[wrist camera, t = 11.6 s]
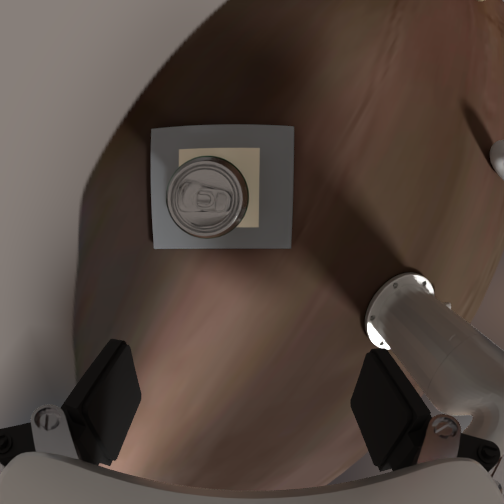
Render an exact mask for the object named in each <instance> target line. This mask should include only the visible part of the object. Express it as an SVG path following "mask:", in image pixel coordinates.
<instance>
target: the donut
mask: <svg viewBox="0 0 504 504" xmlns="http://www.w3.org/2000/svg"><path fill="white" fill-rule="evenodd" d="M490 161H491V164H492V166H493V168H494V170H495V171H496V173H497V174H498V175H499V176H500V177H501V178H502V179H503V180H504V140H500V141H497V142H495V143H494V144H493V145H492V147H491V150H490Z"/></svg>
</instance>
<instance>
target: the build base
mask: <svg viewBox="0 0 504 504" xmlns="http://www.w3.org/2000/svg"><path fill="white" fill-rule="evenodd" d="M200 156H216V157H220V158H223V159H225V160H227V161H229V162H231V163H232V164H233V165H235V166H236V167H237V168H238V169H239V171H240V172H241V173H242V175H243V176H244V178H245V180H246V183H247V186H248V190H249V204H248V208H247V211H246V214H245V216H244V218H243V219H242V221H241V222H240V223H239V225H238V226H237V227H236V228H235V229H233V230H232V231H231V232H229V233H227V234H226V235H223V236H221V237H217V238H211V239H203V238H197V237H194V236H191V235H189V234H187V233H186V232H184V231H182V230H181V229H180V228H179V227H178V226H177V225H176V224H175V223H174V221H173V220H172V218H171V216H170V214H169V212H168V208H167V204H166V191H167V187H168V183H169V181H170V179H171V177H172V175H173V174H174V172H175V171H176V170H177V169H178V168H179V167H180V166H181V165H182V164H184V163H185V162H187V161H188V160H191V159H193V158H196V157H200ZM293 177H294V126H279V125H249V124H225V125H195V126H178V127H166V128H155V129H151V206H152V226H153V241H154V249H291V237H292V212H293Z"/></svg>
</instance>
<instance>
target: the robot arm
mask: <svg viewBox="0 0 504 504" xmlns="http://www.w3.org/2000/svg"><path fill="white" fill-rule="evenodd" d="M365 331H366V333H367V336H368V337H369V339H370V340H371V342H372V343H373V344H374V345H376V346H377V347H379V348H378V349H372V350H371V351H370V352H369V353H367V354H366V356H365V360H364V363H363V366H362V369H361V372H360V375H359V378H358V381H357V384H356V387H355V390H354V392H353V395H352V398H351V408H352V411H353V413H354V415H355V418H356V420H357V423H358V425H359V428H360V430H361V433H362V435H363V438H364V441H365V443H366V446H367V448H368V451H369V453H370V456H371V458H372V461H373V463H374V465H375V466H378V468H379V470H380V472H381V471H384V470H388V469H391V468H392V470H393V471H392V472H389V473H385V474H382V475H377V476H373V477H369V478H364V479H360V480H355V481H350V482H346V483H340V484H334V485H327V486H320V487H312V488H303V489H291V490H274V491H235V490H218V489H206V488H197V487H189V486H182V485H175V484H169V483H164V482H159V481H154V480H149V479H145V478H140V477H136V476H132V475H128V474H124V473H121V472H117V471H114V470H110V469H107V468H104V467H101V466H98V465H99V463H102V464H105V465H108V466H110V465H111V463H112V460H114V461H115V460H116V459H117V457H118V455H119V452H120V450H121V447H122V445H123V442H124V440H125V437H126V435H127V432H128V430H129V427H130V425H131V423H132V420H133V418H134V415H135V413H136V411H137V408H138V406H139V404H140V401H141V391H140V387H139V383H138V379H137V375H136V371H135V367H134V362H133V358H132V353H131V349H130V346H129V345H127V344H126V342H125V341H122V340H116V339H111V340H110V341H109V342H108V343H107V344H106V346H105V347H104V348H103V350H102V351H101V352H100V354H99V355H98V356H97V358H96V359H95V360H94V362H93V363H92V364H91V366H90V367H89V368H88V370H87V371H86V372H85V374H84V375H83V377H82V378H81V379H80V381H79V382H78V384H77V385H76V386H75V388H74V389H73V391H72V392H71V394H70V395H69V396H68V398H67V399H66V401H65V402H64V404H63V405H62V407H61V408H59V407H57V406H55V405H43V406H40V407H39V408H37V409H36V410H35V411H34V412H33V414H32V416H31V422H30V423H26V424H22V425H18V426H13V427H8V428H4V429H0V504H504V351H503V350H502V349H501V348H499V347H498V346H497V345H496V344H494V343H493V342H492V341H491V340H490V339H488V338H487V337H486V336H485V335H483V334H482V333H481V332H480V331H478V330H477V329H476V328H475V327H473V326H472V325H471V324H470V323H468V322H467V321H466V320H464V319H463V318H462V317H460V316H459V315H458V314H457V313H455V312H454V311H453V310H451V304H450V302H446V303H442V302H441V301H439V300H438V299H436V298H435V295H434V290H433V287H432V285H431V283H430V282H429V281H428V279H426V278H425V277H423V276H422V275H420V274H418V273H413V272H409V273H403V274H399V275H397V276H395V277H393V278H392V279H390V280H389V281H387V282H386V283H385V284H384V285H383V286H382V287H381V288H380V289H379V290H378V291H377V292H376V294H375V295H374V297H373V298H372V300H371V302H370V304H369V306H368V309H367V312H366V316H365ZM387 349H391V350H392V351H393V352H394V354H395V355H396V356H397V358H398V359H399V360H400V361H401V363H402V364H403V365H404V367H405V368H406V369H407V370H408V372H409V373H410V374H411V376H412V377H413V378H414V380H415V381H416V382H417V384H418V385H419V386H420V388H421V389H422V390H423V392H424V393H425V394H426V396H427V397H428V398H429V400H430V401H431V403H432V404H433V405H434V406H435V408H436V409H438V410H439V411H440V412H442V413H444V414H440V415H436V416H434V417H433V418H432V417H431V415H430V413H431V412H430V411H429V409H428V408H427V406H426V405H425V403H424V402H423V400H422V399H421V397H420V396H419V394H418V393H417V391H416V390H415V389H414V387H413V386H412V384H411V383H410V381H409V380H408V379H407V377H406V376H405V374H404V373H403V371H402V370H401V369H400V367H399V366H398V365H397V363H396V362H395V360H394V359H393V358H392V356H391V355H390V354H389V352H388V351H387ZM445 414H447V415H445ZM449 415H454V416H460V415H471V416H473V419H472V421H471V423H470V424H469V426H468V427H467V428H466V429H465V430H464V431H463V433H461V426H460V424H459V422H458V421H457V420H456V419H455V418H454V417H452V416H449Z"/></svg>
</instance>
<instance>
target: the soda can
mask: <svg viewBox="0 0 504 504" xmlns="http://www.w3.org/2000/svg"><path fill="white" fill-rule="evenodd" d="M166 204H167V208H168V212H169V214H170V216H171V218H172V220H173V221H174V223H175V224H176V225H177V226H178V227H179V228H180V229H181V230H182V231H184V232H186V233H187V234H189V235H191V236H194V237H197V238H203V239H211V238H217V237H221V236H223V235H226V234H227V233H229V232H231V231H232V230H233V229H235V228H236V227H237V226H238V225H239V223H240V222H241V221H242V219H243V218H244V216H245V214H246V211H247V208H248V204H249V190H248V186H247V183H246V180H245V178H244V176H243V175H242V173H241V172H240V171H239V169H238V168H237V167H236V166H235V165H233V164H232V163H231V162H229V161H227V160H225V159H223V158H220V157H216V156H200V157H196V158H193V159H191V160H188V161H187V162H185V163H184V164H182V165H181V166H180V167H179V168H178V169H177V170H176V171H175V172H174V174H173V175H172V177H171V179H170V181H169V183H168V187H167V191H166Z"/></svg>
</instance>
